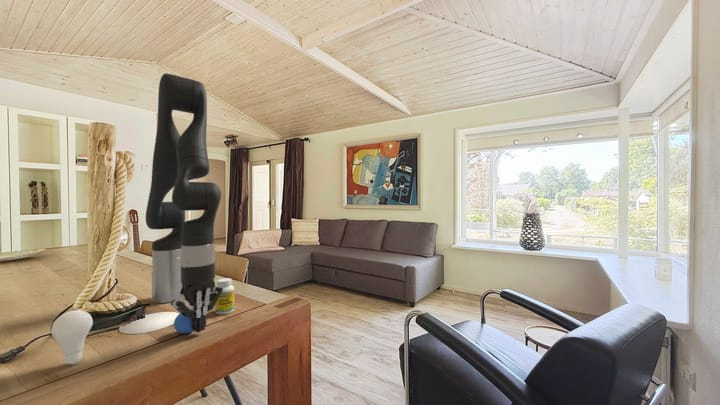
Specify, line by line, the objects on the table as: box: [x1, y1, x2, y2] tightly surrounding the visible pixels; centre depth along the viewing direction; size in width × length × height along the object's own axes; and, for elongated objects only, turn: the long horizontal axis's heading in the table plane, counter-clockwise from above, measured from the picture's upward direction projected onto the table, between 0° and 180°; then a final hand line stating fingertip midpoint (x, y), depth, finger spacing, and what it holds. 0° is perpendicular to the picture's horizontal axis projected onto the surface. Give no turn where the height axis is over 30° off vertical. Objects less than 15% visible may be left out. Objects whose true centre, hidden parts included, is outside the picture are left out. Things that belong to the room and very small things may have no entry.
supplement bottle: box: [214, 277, 236, 315], centre depth 88 cm, size 5×5×10 cm
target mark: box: [118, 311, 180, 335], centre depth 81 cm, size 14×14×1 cm
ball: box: [173, 312, 194, 335], centre depth 74 cm, size 6×6×6 cm
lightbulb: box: [50, 309, 94, 366], centre depth 60 cm, size 6×6×11 cm
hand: (199, 330), depth 73 cm, fingers closed
